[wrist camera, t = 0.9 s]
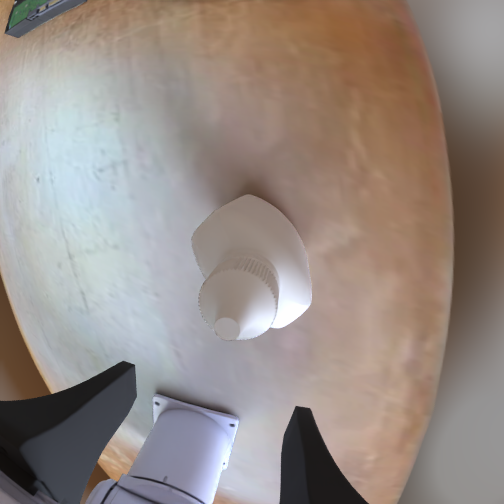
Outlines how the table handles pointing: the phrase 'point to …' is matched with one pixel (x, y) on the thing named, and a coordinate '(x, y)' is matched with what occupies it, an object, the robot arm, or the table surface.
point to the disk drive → (35, 14)
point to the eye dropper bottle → (250, 269)
